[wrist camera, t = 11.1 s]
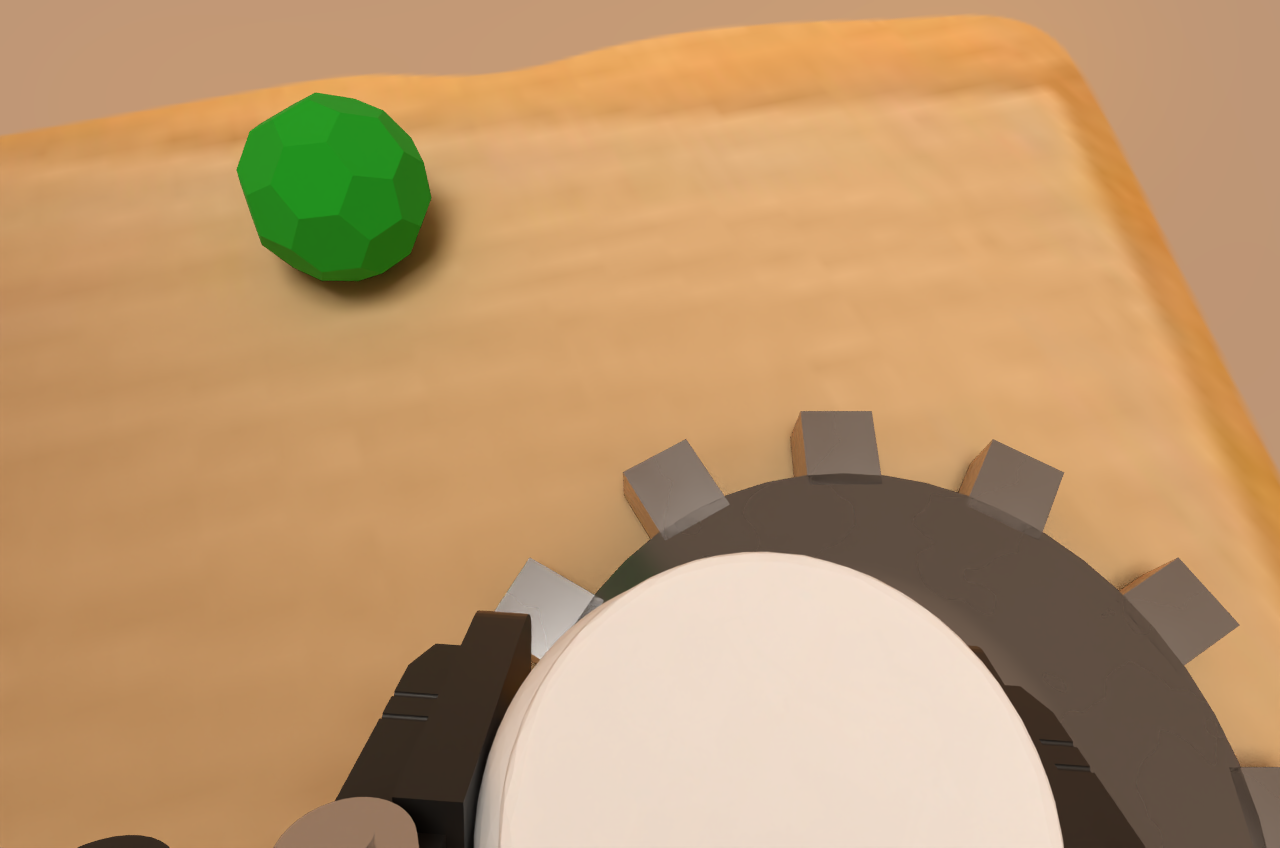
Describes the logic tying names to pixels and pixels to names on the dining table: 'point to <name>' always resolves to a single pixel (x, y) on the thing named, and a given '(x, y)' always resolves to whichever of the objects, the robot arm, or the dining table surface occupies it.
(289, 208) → the polyhedron
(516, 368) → the dining table surface
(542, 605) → the sprocket plate
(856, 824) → the supplement bottle
